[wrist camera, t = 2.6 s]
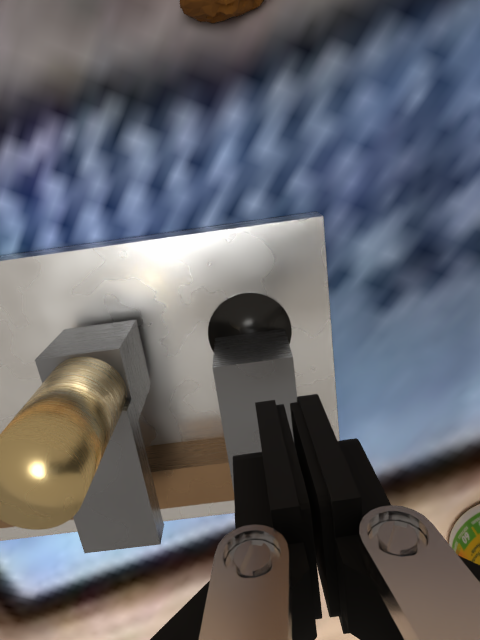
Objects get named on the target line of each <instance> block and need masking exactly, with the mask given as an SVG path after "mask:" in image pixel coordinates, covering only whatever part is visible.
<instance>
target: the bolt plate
mask: <svg viewBox="0 0 480 640" xmlns="http://www.w3.org/2000/svg"><path fill="white" fill-rule="evenodd" d="M129 320H137V325H138V329H139V333H140V338H141V342H142V347H143V351H144V356H145V360H146V364H147V369H148V373H149V378H150V382H151V386H150V389H149V392H148V394H147V397H146V400H145V403H144V406H143V408H142V411H141V414H140V417H139V424H140V428H141V432H142V437H143V441H144V445H145V449H146V453H147V457H148V461H149V465H150V469H151V474H152V478H153V482H154V486H155V490H156V494H157V498H158V502H159V506H160V511H161V515H162V519H163V521H170V520H179V519H187V518H195V517H204V516H212V515H221V514H229V513H235V503H234V480H233V456H235V455H242V454H249V453H256V452H262V449H261V441H260V434H259V427H258V420H257V413H256V406H255V402H262V401H270V400H275V402H276V405H280V404H284V407H285V410H286V414H287V418H288V422H289V426H290V429H291V433H292V437H293V429H292V420H291V411H290V403H294V402H297V397H298V396H305V395H312V394H318V396H319V398H320V400H321V403H322V405H323V408H324V410H325V412H326V415H327V417H328V419H329V422H330V424H331V427H332V429H333V431H334V434H335V436H336V439H337V441H340V440H339V427H338V413H337V399H336V386H335V372H334V359H333V345H332V331H331V318H330V304H329V290H328V277H327V263H326V249H325V236H324V222H323V216H322V215H321V214H319V213H318V212H311V213H304V214H296V215H289V216H282V217H275V218H268V219H261V220H253V221H246V222H239V223H232V224H225V225H218V226H210V227H203V228H196V229H189V230H182V231H175V232H167V233H160V234H153V235H146V236H139V237H132V238H125V239H117V240H110V241H103V242H96V243H89V244H82V245H74V246H67V247H60V248H53V249H46V250H39V251H31V252H24V253H17V254H10V255H3V256H0V434H1V433H2V431H3V430H4V429H5V428H6V427H7V425H8V424H9V423H10V422H11V421H12V419H13V418H14V417H15V416H16V415H17V413H18V412H19V411H20V410H21V409H22V407H23V406H24V405H25V404H26V403H27V401H28V400H29V399H30V398H31V397H32V395H33V394H34V393H35V392H36V391H37V389H38V388H39V387H40V386H41V385H42V381H41V378H40V375H39V372H38V369H37V365H36V362H35V359H36V358H37V357H38V356H39V355H40V354H41V353H42V352H43V351H44V350H45V349H46V348H47V347H48V346H49V345H50V343H51V342H52V341H53V340H54V339H55V338H56V337H57V336H58V335H59V334H60V333H61V332H62V331H63V330H64V329H69V328H77V327H84V326H92V325H99V324H106V323H114V322H121V321H129ZM293 441H294V437H293ZM70 532H78V531H77V528H76V525H75V522H74V519H73V517H72V518H71V519H70V520H69V521H67V522H65V523H64V524H62V525H59V526H57V527H53V528H49V529H42V530H31V529H24V528H19V527H16V526H13V525H10V524H8V523H6V522H3V521H2V520H0V541H3V540H11V539H20V538H28V537H36V536H45V535H53V534H61V533H70Z"/></svg>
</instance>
